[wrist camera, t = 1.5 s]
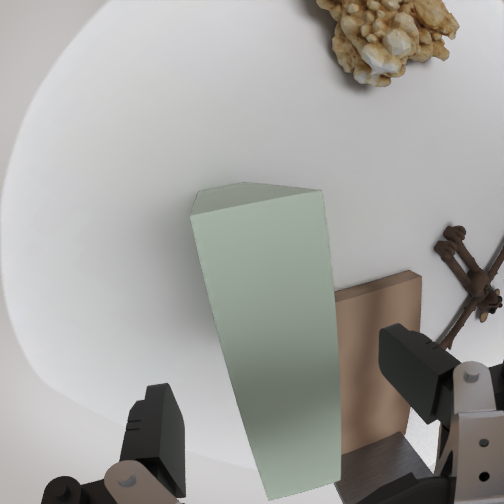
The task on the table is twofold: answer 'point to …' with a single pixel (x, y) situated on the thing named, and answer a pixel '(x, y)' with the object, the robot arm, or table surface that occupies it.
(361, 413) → the walnut shelf board
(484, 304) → the wooden monkey figure
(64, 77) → the table surface
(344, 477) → the grey metal bookend
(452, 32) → the mineral formation
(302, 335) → the sage book
